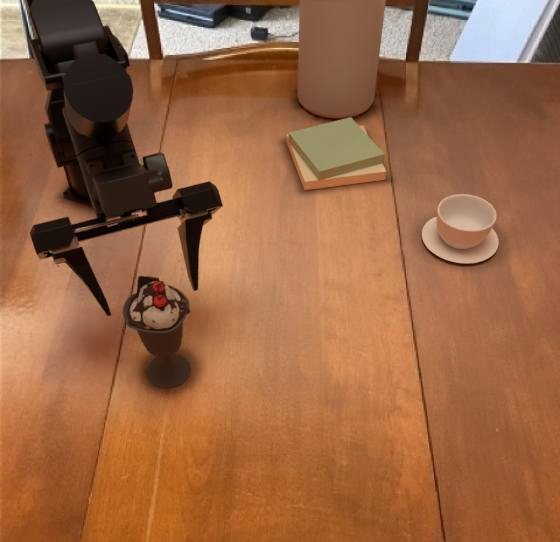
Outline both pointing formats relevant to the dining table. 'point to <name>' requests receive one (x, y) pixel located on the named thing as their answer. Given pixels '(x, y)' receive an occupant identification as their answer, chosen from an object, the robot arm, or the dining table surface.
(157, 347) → the sundae
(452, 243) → the teacup
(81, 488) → the dining table surface
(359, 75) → the cylinder vase
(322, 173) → the block stack
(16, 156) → the dining table surface
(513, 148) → the dining table surface
